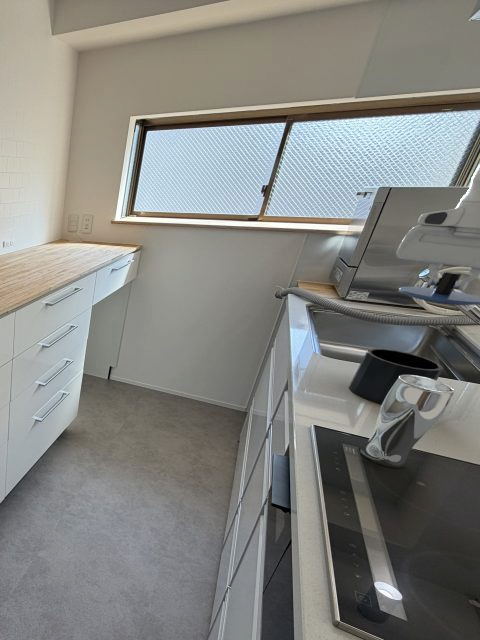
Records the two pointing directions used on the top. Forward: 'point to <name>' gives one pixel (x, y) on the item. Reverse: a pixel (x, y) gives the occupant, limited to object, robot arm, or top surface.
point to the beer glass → (406, 418)
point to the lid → (442, 292)
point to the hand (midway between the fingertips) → (445, 287)
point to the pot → (389, 372)
